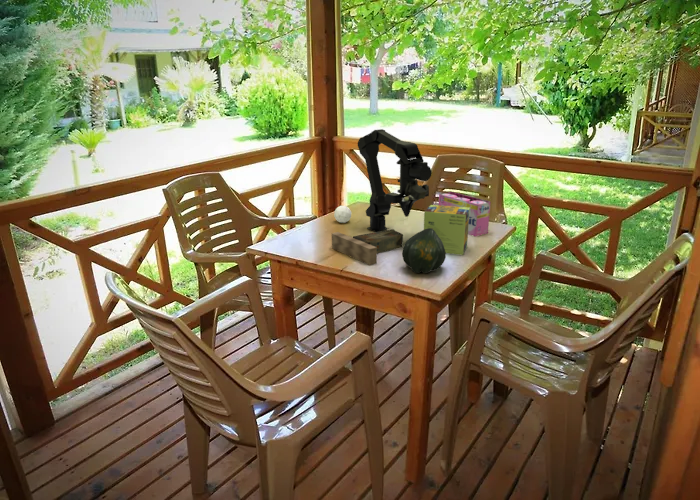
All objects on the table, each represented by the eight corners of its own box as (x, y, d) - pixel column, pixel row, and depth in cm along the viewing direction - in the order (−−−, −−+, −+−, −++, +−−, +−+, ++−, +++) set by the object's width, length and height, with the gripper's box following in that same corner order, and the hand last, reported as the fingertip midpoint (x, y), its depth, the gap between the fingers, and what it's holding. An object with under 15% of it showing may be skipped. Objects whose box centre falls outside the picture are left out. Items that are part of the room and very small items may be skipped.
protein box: (463, 255, 182) (466, 214, 177) (422, 251, 187) (423, 211, 182) (467, 246, 191) (470, 207, 186) (428, 242, 197) (429, 204, 191)
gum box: (434, 223, 221) (435, 193, 216) (447, 220, 225) (449, 190, 220) (475, 236, 202) (478, 204, 197) (488, 233, 206) (491, 201, 201)
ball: (339, 228, 224) (328, 216, 221) (345, 218, 229) (334, 205, 226) (351, 223, 219) (340, 209, 216) (357, 212, 225) (346, 199, 222)
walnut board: (331, 248, 192) (331, 233, 189) (338, 246, 193) (337, 231, 191) (370, 265, 174) (370, 249, 172) (376, 263, 176) (376, 247, 174)
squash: (391, 259, 164) (423, 228, 159) (397, 246, 178) (427, 217, 172) (422, 288, 165) (455, 258, 159) (426, 273, 179) (456, 245, 173)
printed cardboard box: (403, 248, 191) (404, 232, 189) (361, 257, 182) (361, 241, 180) (392, 242, 197) (392, 227, 195) (351, 251, 188) (350, 235, 186)
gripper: (404, 183, 179) (403, 225, 184) (440, 176, 189) (438, 216, 194) (383, 179, 187) (383, 219, 192) (419, 172, 198) (418, 210, 203)
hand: (406, 216), depth 195 cm, fingers closed
